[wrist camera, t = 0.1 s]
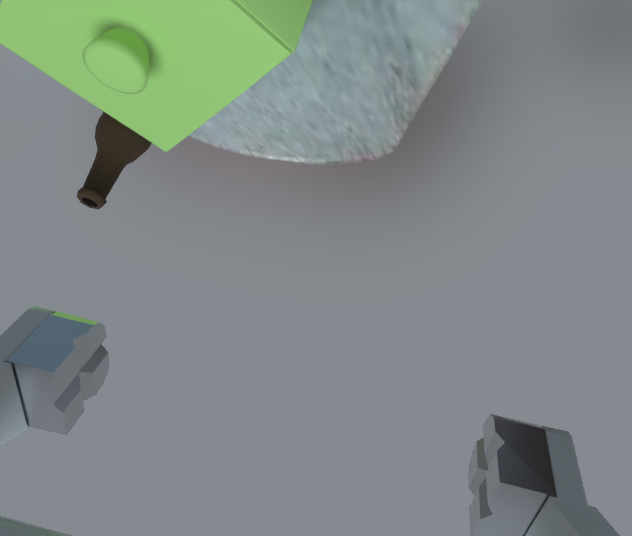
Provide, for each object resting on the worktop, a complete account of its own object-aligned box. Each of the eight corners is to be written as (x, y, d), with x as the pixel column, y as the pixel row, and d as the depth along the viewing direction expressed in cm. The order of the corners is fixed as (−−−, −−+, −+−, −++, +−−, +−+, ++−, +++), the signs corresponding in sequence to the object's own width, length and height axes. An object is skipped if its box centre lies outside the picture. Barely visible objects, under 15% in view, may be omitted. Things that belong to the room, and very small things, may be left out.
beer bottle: (119, 58, 83) (46, 187, 72) (158, 47, 79) (87, 182, 69) (152, 96, 89) (90, 221, 78) (190, 88, 85) (130, 218, 75)
